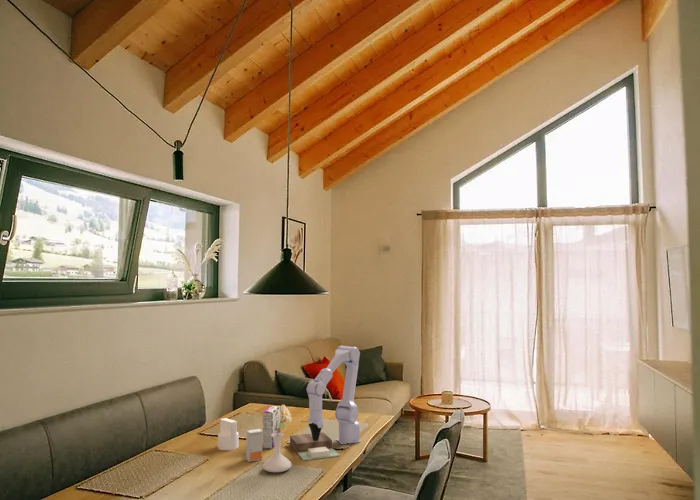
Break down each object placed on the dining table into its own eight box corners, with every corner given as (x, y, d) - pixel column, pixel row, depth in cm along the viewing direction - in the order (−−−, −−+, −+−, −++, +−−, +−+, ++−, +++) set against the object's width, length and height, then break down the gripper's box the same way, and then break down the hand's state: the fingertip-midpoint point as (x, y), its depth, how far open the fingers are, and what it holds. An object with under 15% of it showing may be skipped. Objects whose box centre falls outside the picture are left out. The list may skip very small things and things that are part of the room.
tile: (329, 450, 226) (329, 455, 226) (325, 446, 232) (325, 451, 232) (311, 452, 224) (311, 457, 223) (307, 448, 229) (307, 453, 229)
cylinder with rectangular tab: (242, 447, 240) (242, 420, 240) (225, 451, 233) (225, 424, 234) (230, 442, 246) (231, 416, 247) (214, 447, 239) (214, 420, 240)
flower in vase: (279, 477, 203) (279, 411, 204) (256, 471, 209) (257, 407, 210) (299, 467, 214) (300, 404, 215) (278, 462, 220) (278, 400, 221)
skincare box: (248, 462, 219) (249, 432, 220) (245, 459, 223) (246, 430, 224) (262, 460, 222) (263, 431, 223) (259, 457, 226) (259, 428, 227)
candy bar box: (270, 441, 248) (270, 405, 249) (280, 441, 247) (281, 406, 248) (262, 448, 237) (262, 411, 238) (272, 449, 236) (272, 411, 237)
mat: (332, 449, 236) (332, 448, 236) (339, 456, 227) (339, 455, 227) (297, 453, 230) (297, 452, 231) (303, 460, 221) (303, 459, 221)
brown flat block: (323, 440, 248) (323, 432, 249) (332, 449, 236) (332, 440, 237) (289, 444, 243) (290, 435, 243) (297, 453, 231) (297, 443, 231)
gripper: (302, 406, 239) (302, 436, 238) (311, 413, 225) (311, 446, 224) (317, 404, 241) (317, 435, 240) (327, 412, 228) (327, 444, 227)
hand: (315, 440), depth 233 cm, fingers closed
